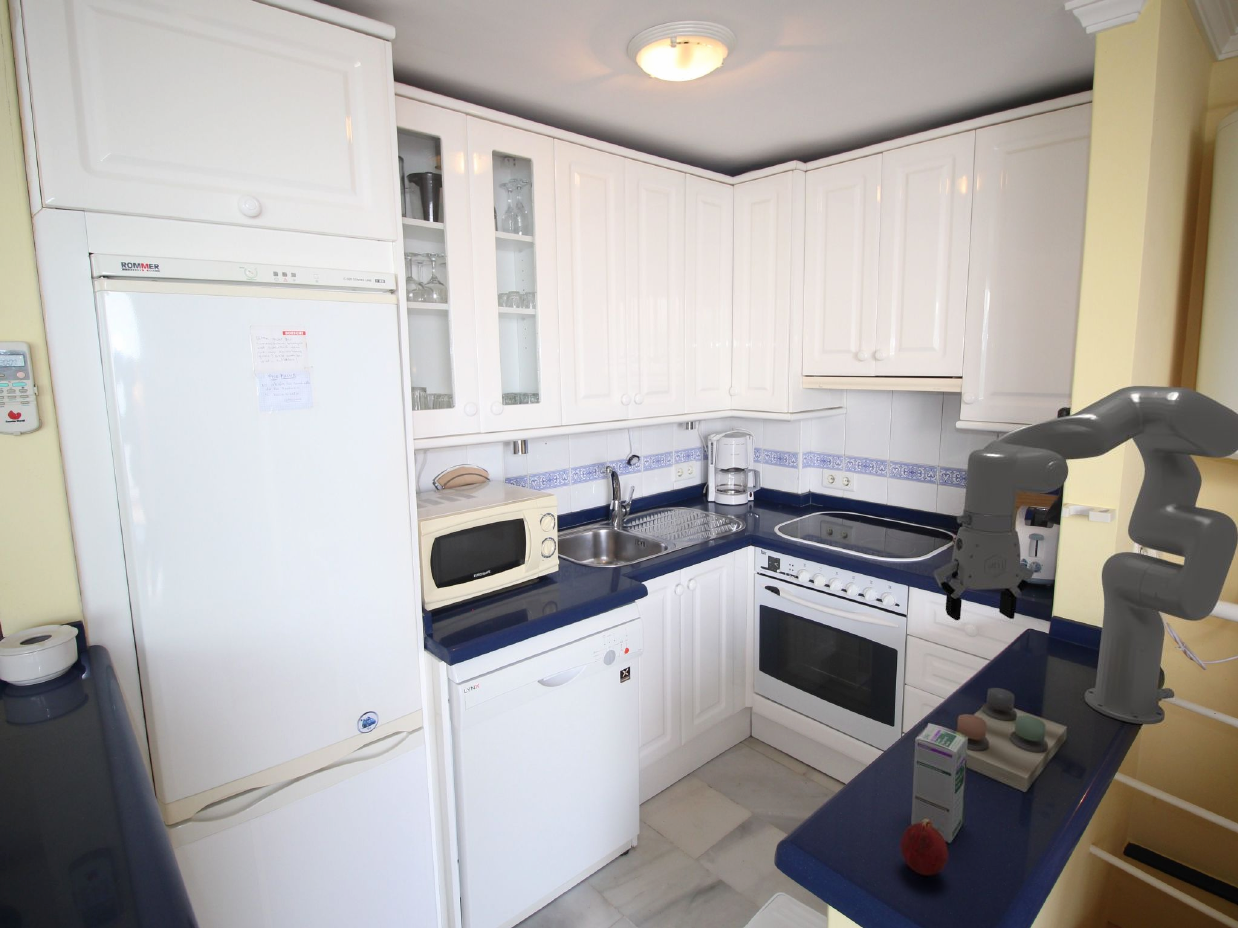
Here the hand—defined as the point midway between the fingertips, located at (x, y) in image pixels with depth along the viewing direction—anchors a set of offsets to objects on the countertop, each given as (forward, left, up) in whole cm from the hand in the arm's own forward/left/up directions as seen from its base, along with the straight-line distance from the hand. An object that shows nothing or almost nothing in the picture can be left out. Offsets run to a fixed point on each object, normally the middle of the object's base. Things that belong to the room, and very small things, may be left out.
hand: (979, 616), depth 114 cm
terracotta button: (+2, +3, -20) cm, 20 cm away
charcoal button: (-10, -5, -20) cm, 23 cm away
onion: (+27, +25, -25) cm, 45 cm away
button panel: (-6, +2, -25) cm, 25 cm away
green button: (-7, +5, -20) cm, 22 cm away
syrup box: (+19, +17, -25) cm, 36 cm away
